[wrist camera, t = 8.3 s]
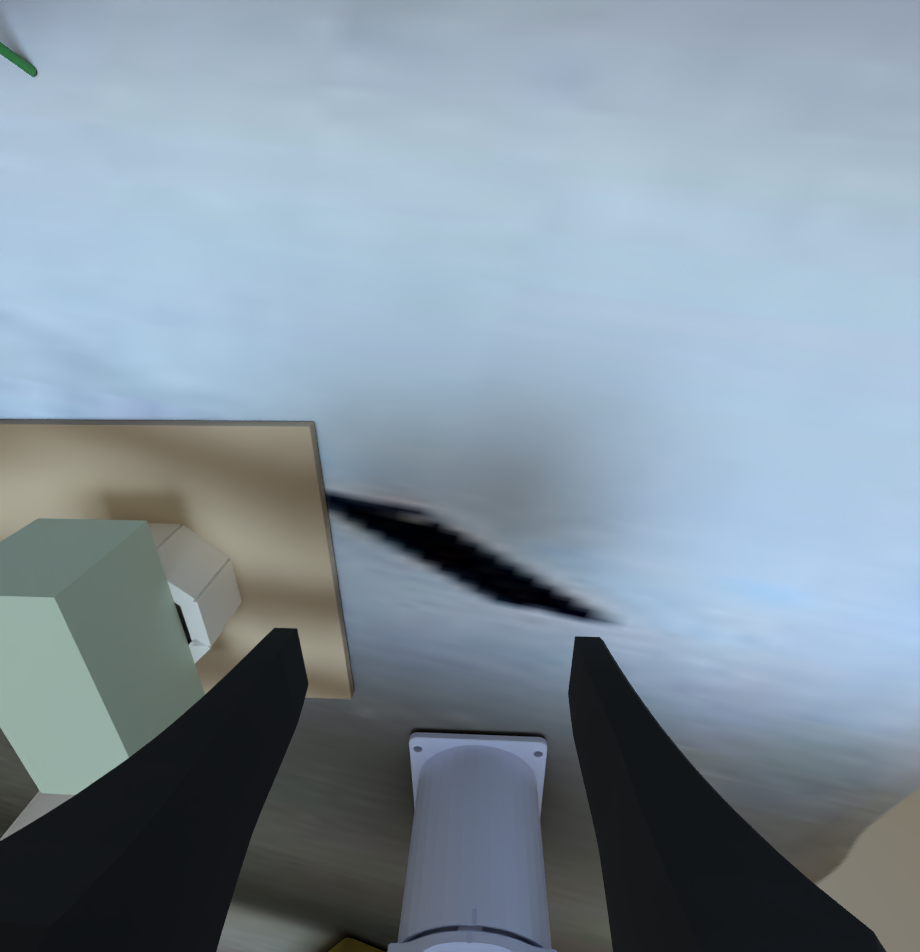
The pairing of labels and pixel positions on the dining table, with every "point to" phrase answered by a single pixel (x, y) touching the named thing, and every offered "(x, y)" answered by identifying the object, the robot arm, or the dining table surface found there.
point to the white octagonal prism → (197, 584)
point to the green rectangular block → (87, 648)
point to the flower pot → (353, 946)
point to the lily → (17, 60)
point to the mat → (201, 516)
